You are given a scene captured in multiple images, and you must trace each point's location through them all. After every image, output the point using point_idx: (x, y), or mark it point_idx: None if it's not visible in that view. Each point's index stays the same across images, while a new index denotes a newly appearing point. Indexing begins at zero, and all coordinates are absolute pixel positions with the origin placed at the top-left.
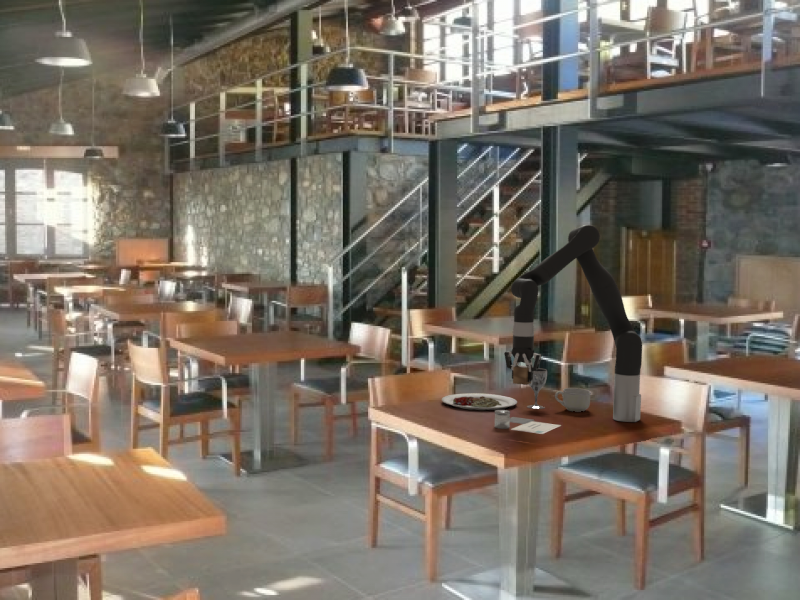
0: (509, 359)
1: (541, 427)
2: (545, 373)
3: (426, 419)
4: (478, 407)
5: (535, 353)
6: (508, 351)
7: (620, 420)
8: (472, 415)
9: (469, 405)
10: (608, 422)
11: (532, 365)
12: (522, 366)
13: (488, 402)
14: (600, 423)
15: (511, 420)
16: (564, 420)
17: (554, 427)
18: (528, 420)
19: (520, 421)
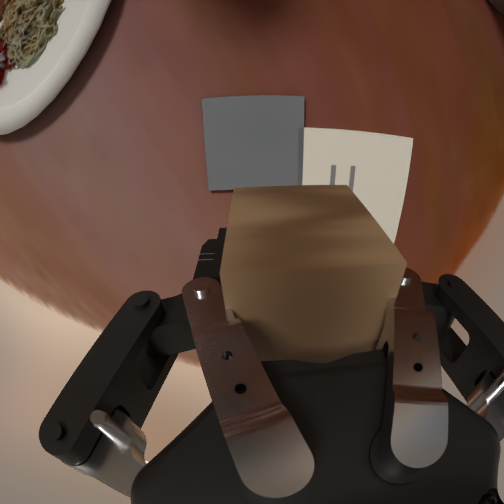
0: (139, 400)
1: (367, 205)
2: None
3: (60, 284)
4: (49, 102)
5: (499, 439)
6: (64, 460)
7: (500, 12)
8: (79, 165)
9: (10, 69)
10: (485, 26)
11: (425, 309)
12: (304, 322)
13: (37, 11)
14: (478, 45)
15: (232, 162)
16: (387, 35)
17: (401, 182)
18: (287, 122)
19: (269, 157)
